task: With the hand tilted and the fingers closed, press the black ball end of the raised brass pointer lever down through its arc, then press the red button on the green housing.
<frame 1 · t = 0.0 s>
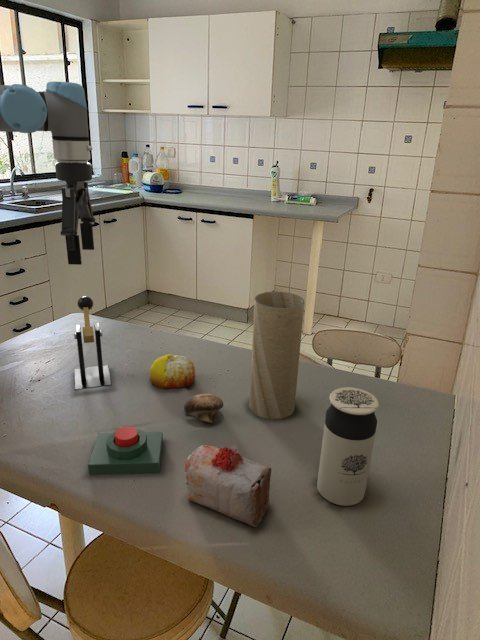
hand: (82, 256, 109), 27 cm above the table, tool pointing down, fingers open, 13 cm apart
button box: (127, 457, 85), on the table
button: (126, 436, 83), point 4 cm above the table, slide at 0.1 cm
tube: (271, 407, 102), on the table
travel mug: (340, 490, 79), on the table
bracket: (92, 380, 109), on the table
fruit: (173, 382, 110), on the table
mushroom: (203, 418, 97), on the table
lever: (86, 318, 108), point 14 cm above the table, hinge at 25.0°
food item: (226, 502, 76), on the table
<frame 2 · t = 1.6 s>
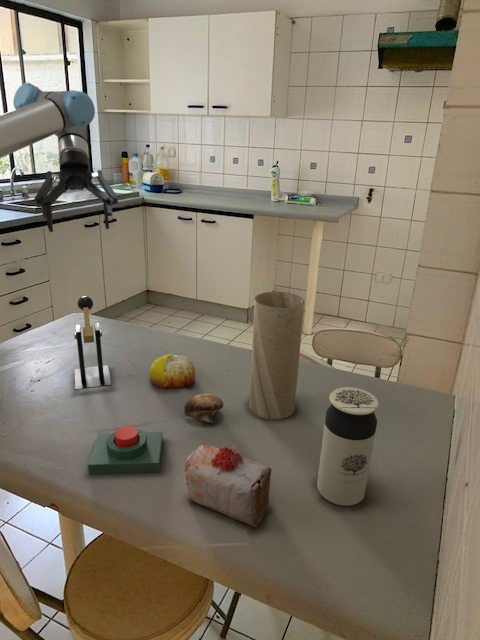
hand: (79, 227, 116), 32 cm above the table, tool tilted 45°, fingers open, 13 cm apart
nothing on the table moved.
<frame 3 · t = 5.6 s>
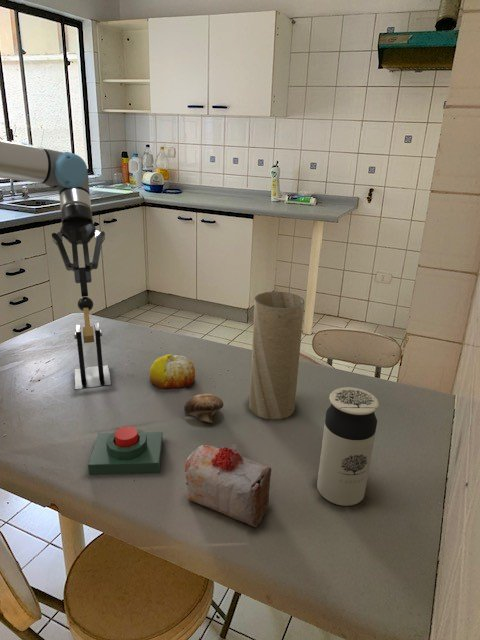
hand: (84, 293, 111), 19 cm above the table, tool tilted 45°, fingers closed
lever: (86, 318, 108), point 14 cm above the table, hinge at 23.5°, touching gripper
everything else where it was.
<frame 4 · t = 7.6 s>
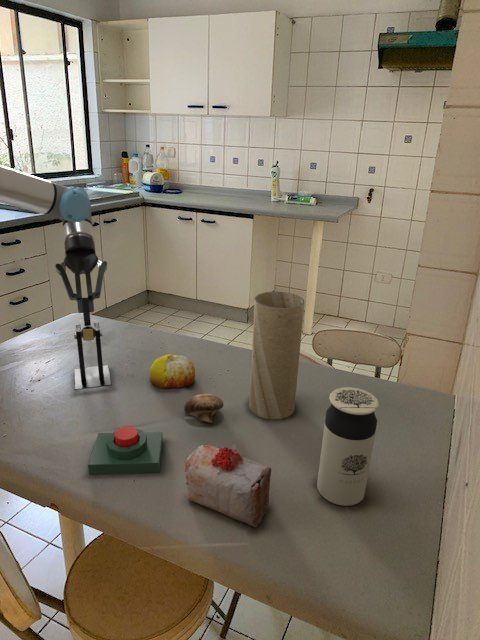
hand: (87, 323, 114), 11 cm above the table, tool tilted 45°, fingers closed
lever: (88, 334, 110), point 10 cm above the table, hinge at -21.9°, touching gripper
everything else where it was.
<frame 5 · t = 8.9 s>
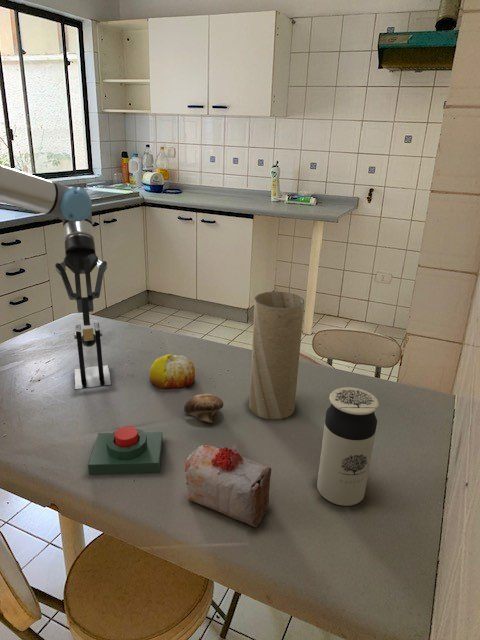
hand: (86, 323, 114), 11 cm above the table, tool tilted 45°, fingers closed
lever: (88, 337, 110), point 9 cm above the table, hinge at -30.5°
everything else where it was.
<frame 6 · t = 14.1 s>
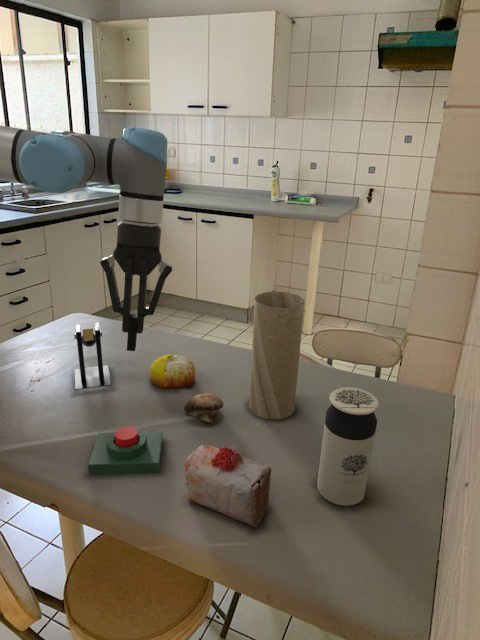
hand: (131, 348, 88), 17 cm above the table, tool pointing down, fingers closed
nothing on the table moved.
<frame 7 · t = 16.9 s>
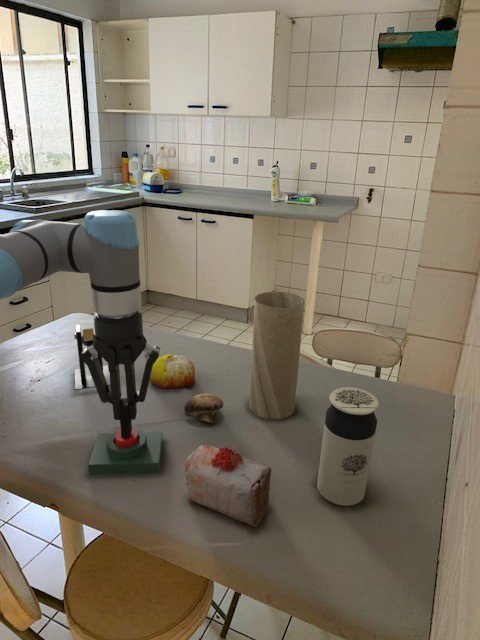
hand: (126, 433, 83), 5 cm above the table, tool pointing down, fingers closed
button: (126, 438, 83), point 4 cm above the table, slide at -0.3 cm, touching gripper
everything else where it was.
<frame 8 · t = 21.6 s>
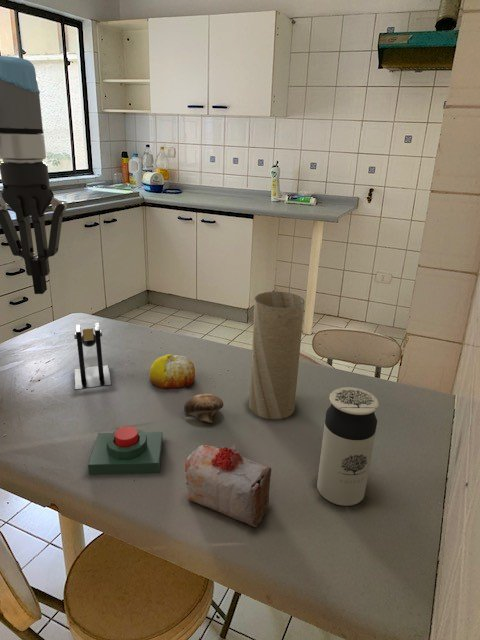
hand: (40, 291, 88), 26 cm above the table, tool pointing down, fingers closed
button: (126, 436, 83), point 4 cm above the table, slide at 0.1 cm
everything else where it was.
at the end: lever at -30° (first picture: +25°); button pushed in 1.0 cm at the most during the clip, back to where it started at the end; button slide at 0.1 cm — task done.
